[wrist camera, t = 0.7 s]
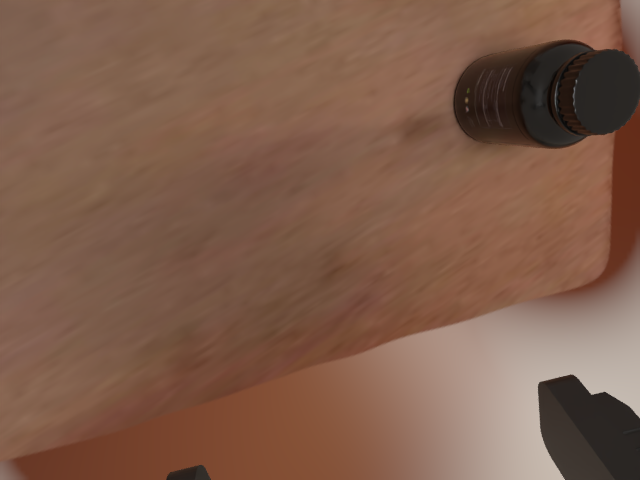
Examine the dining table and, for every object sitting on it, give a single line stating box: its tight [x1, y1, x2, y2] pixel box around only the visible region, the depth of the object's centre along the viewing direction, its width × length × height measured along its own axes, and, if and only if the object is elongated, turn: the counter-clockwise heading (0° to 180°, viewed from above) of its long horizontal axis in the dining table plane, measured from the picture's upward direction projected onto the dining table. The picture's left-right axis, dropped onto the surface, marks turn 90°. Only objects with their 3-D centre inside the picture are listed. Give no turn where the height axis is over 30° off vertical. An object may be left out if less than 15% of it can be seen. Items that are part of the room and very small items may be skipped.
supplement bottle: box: [455, 40, 640, 149], centre depth 34 cm, size 7×7×12 cm
